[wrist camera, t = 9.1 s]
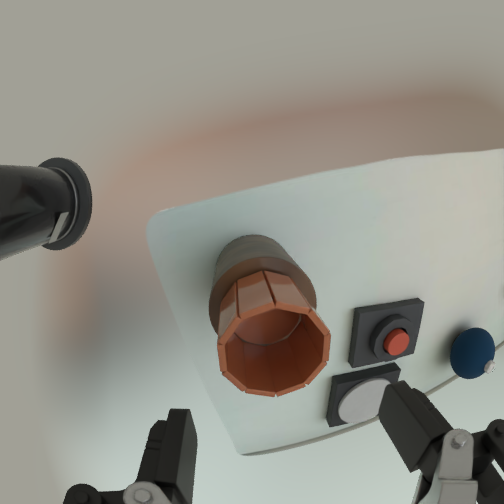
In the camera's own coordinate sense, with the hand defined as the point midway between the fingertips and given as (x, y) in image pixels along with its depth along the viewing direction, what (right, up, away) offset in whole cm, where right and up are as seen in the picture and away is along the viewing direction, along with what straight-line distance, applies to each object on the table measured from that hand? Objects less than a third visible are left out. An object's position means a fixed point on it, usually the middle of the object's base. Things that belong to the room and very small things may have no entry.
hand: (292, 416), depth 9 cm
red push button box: (+16, -4, +23) cm, 29 cm away
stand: (-1, +4, +20) cm, 21 cm away
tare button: (+16, -4, +21) cm, 27 cm away
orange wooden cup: (-1, +2, +11) cm, 11 cm away
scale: (+14, -14, +25) cm, 33 cm away
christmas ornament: (+33, -9, +26) cm, 43 cm away
